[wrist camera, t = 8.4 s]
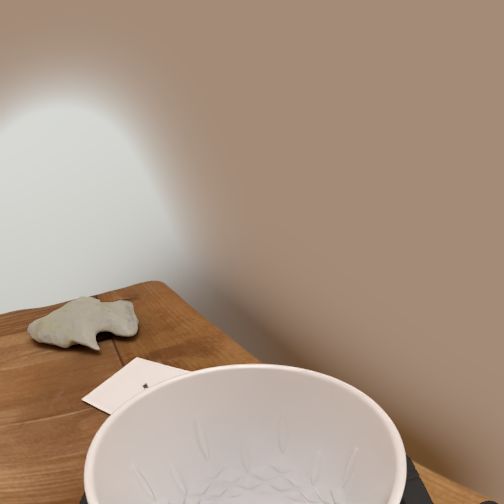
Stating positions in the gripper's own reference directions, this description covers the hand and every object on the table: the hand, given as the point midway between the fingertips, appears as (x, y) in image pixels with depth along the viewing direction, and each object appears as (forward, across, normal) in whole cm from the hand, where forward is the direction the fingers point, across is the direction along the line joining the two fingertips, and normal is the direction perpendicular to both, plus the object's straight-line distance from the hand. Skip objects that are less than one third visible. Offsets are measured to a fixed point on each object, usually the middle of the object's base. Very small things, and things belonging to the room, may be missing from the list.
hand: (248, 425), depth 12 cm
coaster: (+10, -9, -6) cm, 15 cm away
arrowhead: (+20, -20, -6) cm, 29 cm away
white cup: (-5, 0, -6) cm, 8 cm away
